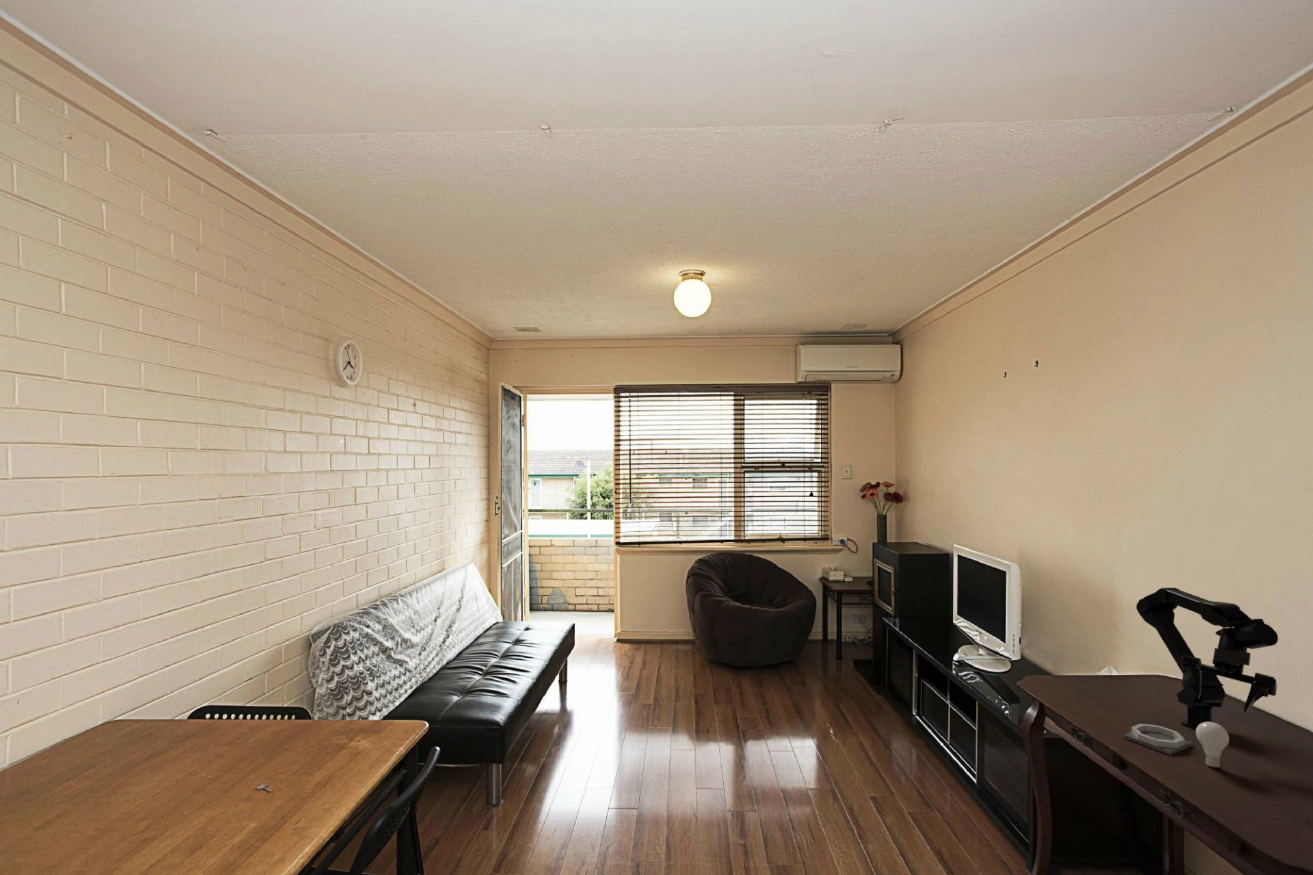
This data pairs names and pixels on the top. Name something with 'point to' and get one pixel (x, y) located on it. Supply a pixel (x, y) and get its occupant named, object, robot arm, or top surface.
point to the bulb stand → (1158, 738)
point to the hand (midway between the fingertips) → (1221, 704)
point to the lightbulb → (1212, 741)
